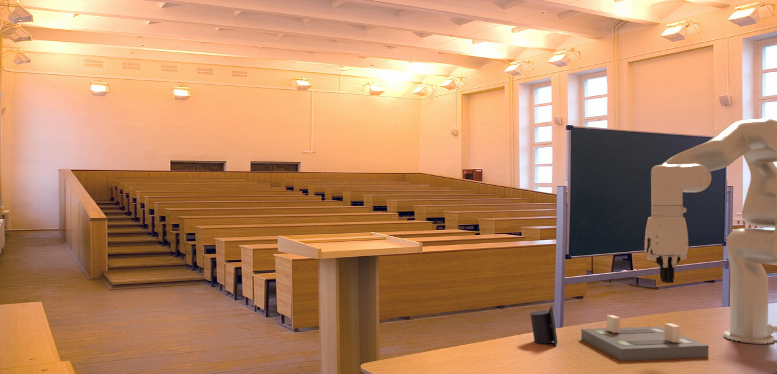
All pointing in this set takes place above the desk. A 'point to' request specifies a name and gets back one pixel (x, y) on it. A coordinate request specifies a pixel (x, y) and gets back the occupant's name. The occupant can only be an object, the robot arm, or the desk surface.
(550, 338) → the speaker
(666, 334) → the block
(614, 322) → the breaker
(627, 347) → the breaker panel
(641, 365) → the desk surface
